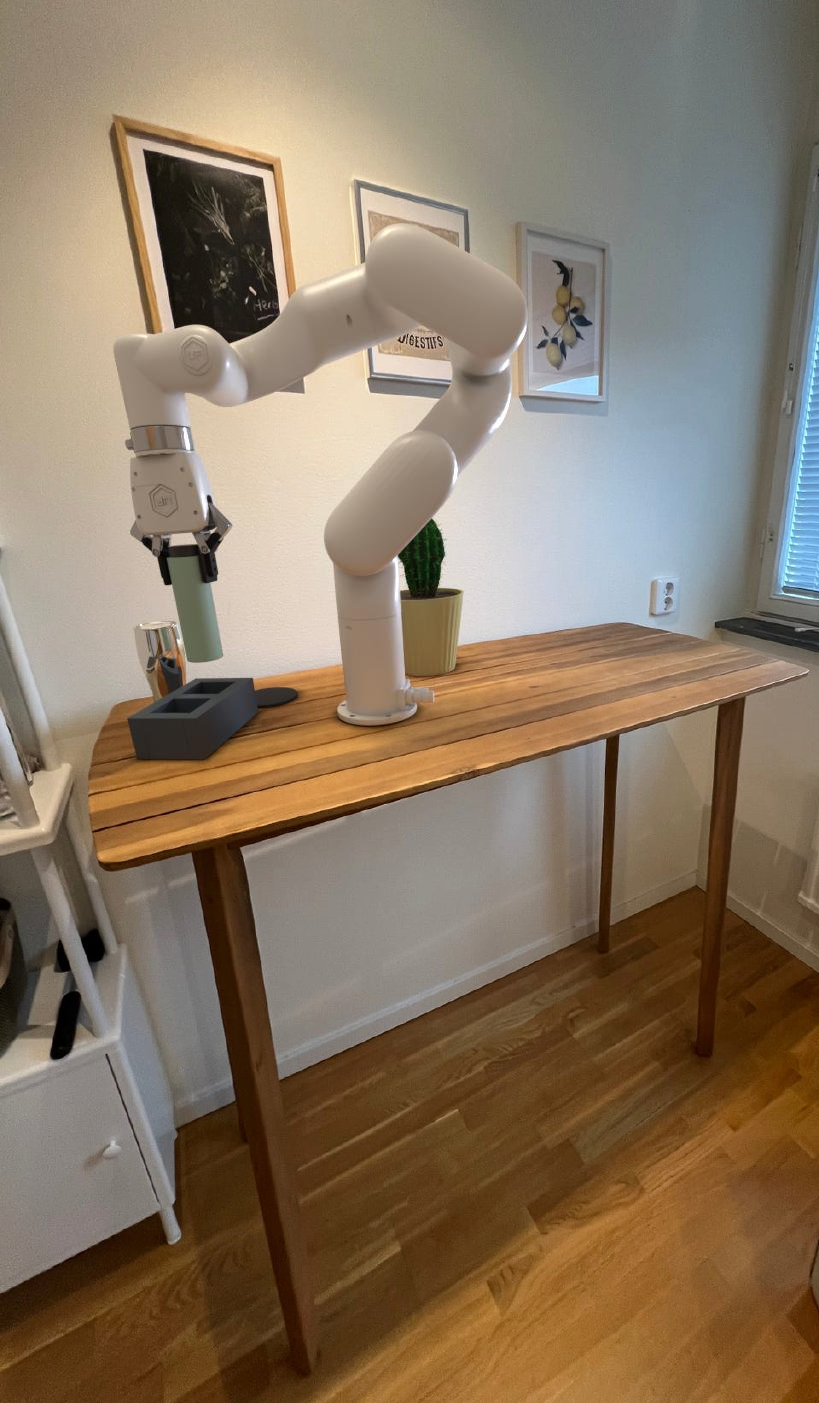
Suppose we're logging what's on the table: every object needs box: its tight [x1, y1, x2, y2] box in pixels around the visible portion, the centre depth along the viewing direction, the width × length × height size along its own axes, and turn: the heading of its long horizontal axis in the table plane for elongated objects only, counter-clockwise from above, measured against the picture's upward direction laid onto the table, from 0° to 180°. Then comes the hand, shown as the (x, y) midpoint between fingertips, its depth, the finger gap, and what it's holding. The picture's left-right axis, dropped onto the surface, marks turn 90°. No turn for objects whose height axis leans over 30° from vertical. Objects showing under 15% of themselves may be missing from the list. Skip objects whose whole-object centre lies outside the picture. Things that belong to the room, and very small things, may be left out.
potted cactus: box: [398, 517, 464, 677], centre depth 105 cm, size 15×15×30 cm
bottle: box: [167, 543, 224, 664], centre depth 80 cm, size 5×5×16 cm
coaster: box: [255, 686, 299, 709], centre depth 97 cm, size 10×10×1 cm
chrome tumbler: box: [133, 620, 187, 703], centre depth 90 cm, size 7×7×15 cm
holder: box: [126, 677, 259, 761], centre depth 82 cm, size 10×18×6 cm, turn 172°
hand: (191, 581), depth 79 cm, fingers closed on bottle, 5 cm apart
